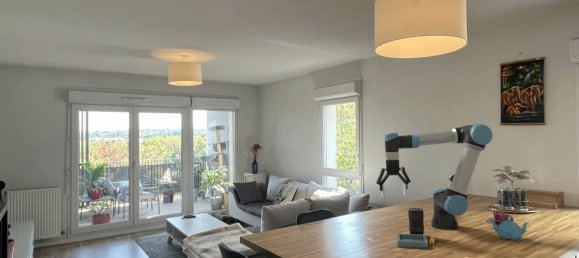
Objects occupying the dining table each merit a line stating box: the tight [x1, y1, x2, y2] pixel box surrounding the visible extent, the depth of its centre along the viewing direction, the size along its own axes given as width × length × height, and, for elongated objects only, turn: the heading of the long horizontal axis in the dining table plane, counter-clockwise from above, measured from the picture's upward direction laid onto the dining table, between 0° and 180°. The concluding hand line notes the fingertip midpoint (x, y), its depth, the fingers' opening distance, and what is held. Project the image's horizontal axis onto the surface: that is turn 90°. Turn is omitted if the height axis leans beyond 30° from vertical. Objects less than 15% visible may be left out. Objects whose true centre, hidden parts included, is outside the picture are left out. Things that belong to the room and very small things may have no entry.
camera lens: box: [407, 207, 425, 235], centre depth 196 cm, size 8×8×15 cm
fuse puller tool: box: [429, 236, 436, 246], centre depth 184 cm, size 10×2×2 cm, turn 154°
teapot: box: [490, 217, 530, 242], centre depth 187 cm, size 13×13×10 cm
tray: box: [396, 233, 429, 250], centre depth 183 cm, size 14×14×3 cm
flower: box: [485, 210, 515, 227], centre depth 209 cm, size 15×15×10 cm
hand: (394, 195), depth 204 cm, fingers open, 13 cm apart
